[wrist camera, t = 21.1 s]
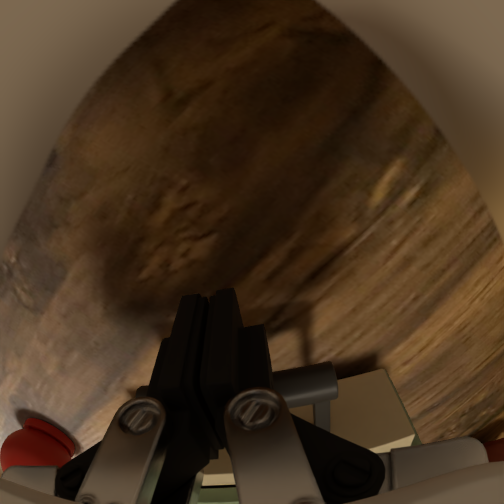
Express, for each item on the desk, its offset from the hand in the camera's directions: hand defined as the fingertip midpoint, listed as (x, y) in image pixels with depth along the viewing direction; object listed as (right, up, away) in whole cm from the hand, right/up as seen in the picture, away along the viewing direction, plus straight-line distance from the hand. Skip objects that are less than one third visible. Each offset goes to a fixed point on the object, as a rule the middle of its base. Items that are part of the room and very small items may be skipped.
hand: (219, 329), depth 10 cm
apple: (-15, -12, +7) cm, 21 cm away
